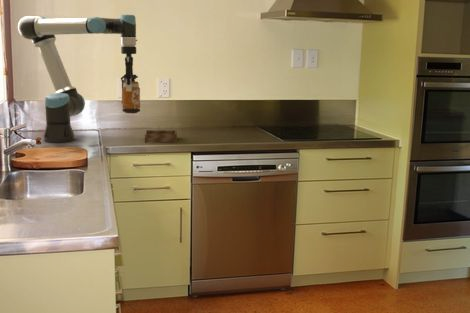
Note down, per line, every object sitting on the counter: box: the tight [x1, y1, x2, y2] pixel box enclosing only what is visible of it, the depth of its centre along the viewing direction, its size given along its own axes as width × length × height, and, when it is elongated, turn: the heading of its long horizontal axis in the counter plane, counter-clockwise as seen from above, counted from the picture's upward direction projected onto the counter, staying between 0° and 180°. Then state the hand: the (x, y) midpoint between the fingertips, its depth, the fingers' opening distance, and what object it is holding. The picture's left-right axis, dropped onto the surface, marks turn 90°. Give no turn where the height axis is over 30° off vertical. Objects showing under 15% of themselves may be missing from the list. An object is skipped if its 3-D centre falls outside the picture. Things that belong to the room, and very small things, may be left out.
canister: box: [120, 73, 141, 114], centre depth 282 cm, size 9×11×20 cm
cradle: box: [144, 129, 178, 144], centre depth 284 cm, size 16×14×4 cm
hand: (129, 90), depth 282 cm, fingers closed on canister, 9 cm apart
